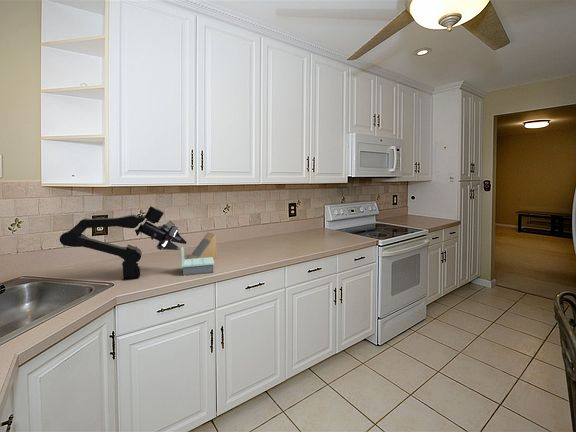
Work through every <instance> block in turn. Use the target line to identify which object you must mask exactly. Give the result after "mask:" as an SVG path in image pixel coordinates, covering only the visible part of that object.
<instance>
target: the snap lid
mask: <svg viewBox="0 0 576 432" xmlns="http://www.w3.org/2000/svg"><path fill="white" fill-rule="evenodd" d="M180 252H181V253H180V254H181V268H183V267H192V266H203V265H213V266H214V265H215V260H213V257H208V258H203V257H202V258H196V259H193V258H192V259H188V258H187V259H186V258H185V249H184V246H182V247H181V248H180Z"/></svg>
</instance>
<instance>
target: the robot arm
mask: <svg viewBox="0 0 576 432" xmlns="http://www.w3.org/2000/svg"><path fill="white" fill-rule="evenodd" d="M164 214H165V212H164V211H163V210H161V209H159V208H156V207H154V206H153V205H150V206H149V208H148V210H147V212H146V213H145V215H143V214H142V215H137V214H127V215H123V216H120V217H119V216H118V217H104V218H99V217H98V218H83V219H81V220H79V222H78V223H77V224H75V226H73V227H72V228H71V229H69V230H67V231H66V232H63V233H62V234H61V235H60V236H59V242H60V244H61V245H62V246H64V247H74V248H87V249H91V250H93V251H98V252H102V253H106V254H109V255H114V256H117V257H120V259H122V263H121V266H122V277H123V278H122V281H129V280H136V279H139V278H140V277H141V266H139V263H138V262H139V261H140V260H141V257H142V255H143V252H142V249H140V248H138V246H133V245H131V244H127V246H121V245H115V244H114V243H108V242H105V241H103V240H98V239H95V238H91V237H88V236H86V234H83V233H84V232H85V231H86V230H87V229H94V228H95V229H96V228H110V227H113V228H114V227H116V228H117V227H119V228H123V229H134V232H135V234H136V236H138V235H140V233H141V234H143V235H146V236H147V237H150V239H151V240H156V241H158V243H157V244H156V249H157V250H159V251H161V250H162V251H168V250H169V251H171V250H172V251H181V248H180V246H178V245H177V244H175V243H178V244H183V245H186V244H187V241H186V240H185V238H183V237H182V236H181V235H180V233H179V229H178V228H179V227H177V226H175V223H174V222H173V221H172V220H169V221H167V222H166V223H165V224H162V225H158V226H157V225H155V224H158V223H159V222H160V220H161V219H162V217H163V216H164ZM137 227H138V228H137Z"/></svg>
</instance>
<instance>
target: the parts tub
mask: <svg viewBox="0 0 576 432" xmlns="http://www.w3.org/2000/svg"><path fill="white" fill-rule="evenodd" d="M182 272H183V274H182V275H183V276H184V275H185V276H194V275H203V274H213V273H214V265H203V266H192V267H182Z"/></svg>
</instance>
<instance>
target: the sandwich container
mask: <svg viewBox="0 0 576 432" xmlns="http://www.w3.org/2000/svg"><path fill="white" fill-rule="evenodd" d="M202 257H203V258H208V257H213V260H214V261H215V260H217V259H218V257H217V234H216V233H213V232H209V231H207V233H206V234H205V235H204V236H203V238H202V239H201V241H200V242H199V243H198V245H196V247H195V249H194V250H193V251H192V252H191V254H190V255H189V257H188V258H187V259H192V258H193V259H196V258H202Z"/></svg>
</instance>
